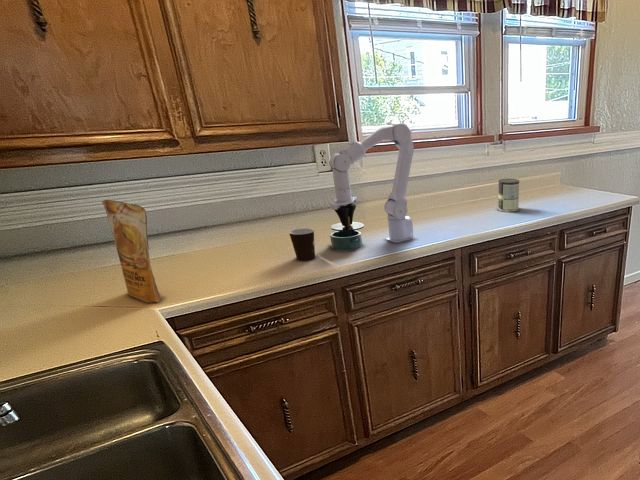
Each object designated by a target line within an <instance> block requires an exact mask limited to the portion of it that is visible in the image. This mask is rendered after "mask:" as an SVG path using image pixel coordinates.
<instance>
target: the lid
mask: <svg viewBox="0 0 640 480" xmlns="http://www.w3.org/2000/svg"><path fill="white" fill-rule="evenodd" d="M363 228H365V224H364V223H362V222H359V221H358V222H357V221H352V224H350V217H349V216H348V226H342V224H341V222H337V223H333V224H332V225H331V226H330V230H332V231H334V232H335V231H343V232H348V231H355V230H356V231H359V230H362V229H363Z"/></svg>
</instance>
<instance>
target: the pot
mask: <svg viewBox="0 0 640 480" xmlns="http://www.w3.org/2000/svg"><path fill="white" fill-rule="evenodd" d="M329 236H330V245H331V249H333V250H336V251H353V250H357V249H360V248H361V247H363V240H362V232H361V231H359V230H355V231H348V232H343V231H335V230H334V231H333V232H331V233H330V234H329Z"/></svg>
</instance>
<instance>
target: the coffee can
mask: <svg viewBox="0 0 640 480" xmlns="http://www.w3.org/2000/svg"><path fill="white" fill-rule="evenodd" d="M519 195H520V180H519V179H517V178H501V179H498V203H497V204H498V206H497V209H498V211H500V212H506V213H507V212H509V213H512V212H513V213H514V212H516V211H519Z"/></svg>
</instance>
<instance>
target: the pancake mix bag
mask: <svg viewBox="0 0 640 480" xmlns="http://www.w3.org/2000/svg"><path fill="white" fill-rule="evenodd" d="M101 203H102V205H103V207H104V210H105V213H106V217H107V219H108V223H109V227H110V230H111V234H112V236H113V241H114V244H115V249H116V252H117V256H118V260H119V263H120V266H121V272H122V275H123V279H124V283H125V287H126V290H127V293H128V295H129V296H130V297H132V298H134V299H137V300H139V301H141V302H144V303H145V304H152V303H160V302H161V301H162V296H161V294H160V292H159V288H158V286H157V285H158V284H157V283H156V280H155V276H154V273H153V269H152V266H151V259H150V258H151V257H150V249H149V247H150V246H149V239H148V218H147V217H148V216H147V211H146V209H145V208H144V207H142V205H141V206H140V205H139V204H133V203H128V202H123V201H119V200H113V199H104V200H102V201H101Z"/></svg>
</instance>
